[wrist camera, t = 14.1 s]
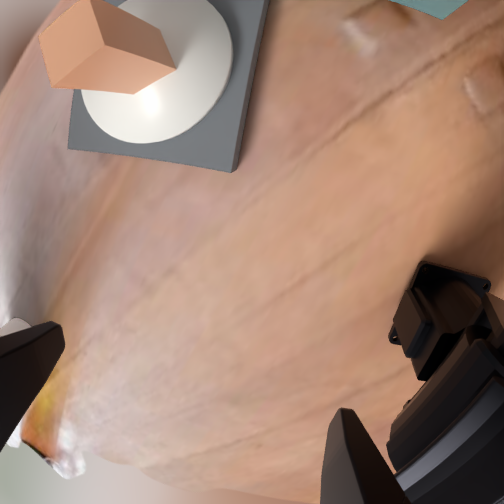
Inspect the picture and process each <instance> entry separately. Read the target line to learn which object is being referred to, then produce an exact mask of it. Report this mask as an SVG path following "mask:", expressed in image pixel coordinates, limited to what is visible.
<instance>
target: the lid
mask: <svg viewBox="0 0 504 504" xmlns="http://www.w3.org/2000/svg"><path fill="white" fill-rule="evenodd" d="M38 38H39V42H40V46H41V50H42V54H43V58H44V62H45V66H46V69H47V73H48V77H49V80H50V84H51V87H52V88H67V89H81V92H82V97H83V100H84V104H85V106H86V108H87V111H88V113H89V114H90V116H91V118H92V119H93V120H94V122H95V123H96V124H97V125H98V126H99V127H100V128H101V129H102V130H103V131H104V132H106V133H107V134H109V135H110V136H112V137H114V138H117V139H119V140H122V141H125V142H130V143H153V142H160V141H164V140H168V139H172V138H174V137H176V136H179V135H181V134H183V133H185V132H186V131H188V130H190V129H192V128H193V127H194V126H196V125H197V124H198V123H200V122H201V121H202V120H203V119H204V118H205V117H206V116H207V115H208V114H209V113H210V112H211V110H212V109H213V108H214V107H215V106H216V104H217V103H218V101H219V100H220V98H221V97H222V95H223V93H224V91H225V89H226V87H227V84H228V81H229V79H230V76H231V71H232V67H233V57H234V50H233V41H232V37H231V33H230V30H229V28H228V25H227V24H226V22H225V20H224V19H223V17H222V16H221V14H220V13H219V12H218V11H217V10H216V9H215V7H214V6H213V5H212V4H210V3H209V2H208V1H207V0H127V1H125V2H123V3H122V4H121V5H119V6H118V7H116V6H114V5H112V4H110V3H108V2H105V1H103V0H79V1H78V2H76V3H75V4H74V5H73V6H71V7H70V8H69V9H68V10H67V11H65V12H64V13H63V14H62V15H61V16H60V17H59V18H57V19H56V20H55V21H54V22H53V23H52V24H51V25H50V26H49V27H47V28H46V29H45V30H44V31H43V32H42V33H41V34H40V35H39V36H38Z"/></svg>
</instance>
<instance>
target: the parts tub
mask: <svg viewBox="0 0 504 504" xmlns="http://www.w3.org/2000/svg"><path fill="white" fill-rule="evenodd" d="M390 1H393V2H396V3H399V4H402V5H405V6H408V7H411V8H414V9H416V10H419V11H422V12H424V13H427V14H429V15H432V16H434V17H437V18H439V19H441V20H443V19H444V18H446V17H447V16H448V15H450V14H451V13H452V12H454V11H455V10H456V9H458V8H459V7H460V6H462V5H463V4H464V3H466V2H467V1H468V0H390Z"/></svg>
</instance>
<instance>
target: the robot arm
mask: <svg viewBox="0 0 504 504" xmlns="http://www.w3.org/2000/svg"><path fill="white" fill-rule="evenodd" d="M424 267H427V269H426V271H423V272H422V269H423V268H424ZM484 284H486V285H485V286H484ZM483 286H484V287H483ZM490 287H491V282H490V281H489V280H488V279H487V278H485V277H481V276H478V275H474V274H471V273H467V272H464V271H460V270H456V269H453V268H449V267H446V266H442V265H438V264H435V263H431V262H427V261H423V262H421V263H419V265H418V266H417V269H416V272H415V274H414V277H413V279H412V282H411V284H410V287H409V288H408V289H407V290H405V292H404V295H403V297H402V300H401V302H400V304H399V307H398V309H397V311H396V314H395V316H394V318H393V322H394V324H393V326H392V328H391V330H390V333H389V335H388V338H389V341H390V343H392V344H396V345H402V348H403V351H404V354H405V356H406V357H407V358H411V361H412V364H413V367H414V370H415V373H416V376H417V379H418V380H421V381H426V382H425V383H424V385H423V386H422V387H421V388H420V389H419V391H418V392H417V393H416V394H415V395H414V397H413V398H412V399H411V400H408V401H407V402H406V404H405V405H404V406H403V410H402V411H401V412H400V414H399V415H398V416H397V417H396V419H395V420H394V422H393V423H392V425H391V432H390V440H389V441H388V442H387V444H386V446H387V451H388V455H389V458H390V460H391V463H392V465H393V467H394V469H395V470H396V473H395V474H394V475H393V473H392V471H391V470H390V468H389V466H388V465H387V463H386V462H385V460H384V458H383V457H382V455H381V453H380V452H379V450H378V449H377V447H376V445H375V444H374V442H373V441H372V439H371V437H370V436H369V434H368V432H367V431H366V429H365V428H364V426H363V424H362V423H361V421H360V420H359V418H358V416H357V415H356V413H355V412H354V410H352V409H348V408H339V409H338V411H337V412H336V414H335V416H334V418H333V419H332V421H331V423H330V425H329V428H328V433H327V441H326V447H325V454H324V461H323V467H322V475H321V497H320V504H504V300H502V299H500V298H498V297H496V296H494V295H492V294H490V293H488V292H489V290H490ZM394 336H397V337H396V338H393V337H394ZM64 348H65V340H64V335H63V330H62V327H61V325H60V324H57V323H55V322H53V321H49V322H46V323H42V324H39V325H36V326H33V327H30V328H27V329H23V330H20V331H17V332H14V333H11V334H8V335H4V336H1V337H0V452H1V450H2V449H3V447H4V446H5V444H6V442H7V441H8V439H9V437H10V436H11V434H12V433H13V431H14V430H15V428H16V426H17V425H18V423H19V422H20V420H21V419H22V417H23V416H24V414H25V413H26V411H27V409H28V408H29V406H30V405H31V403H32V402H33V401H34V399H35V398H36V396H37V395H38V393H39V392H40V390H41V389H42V387H43V386H44V384H45V383H46V381H47V379H48V378H49V376H50V374H51V372H52V370H53V369H54V367H55V365H56V363H57V361H58V360H59V358H60V356H61V354H62V353H63V351H64Z"/></svg>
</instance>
